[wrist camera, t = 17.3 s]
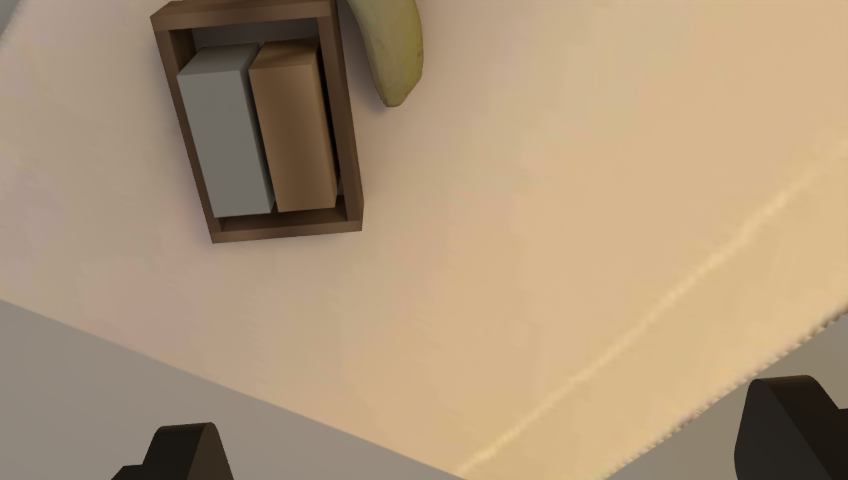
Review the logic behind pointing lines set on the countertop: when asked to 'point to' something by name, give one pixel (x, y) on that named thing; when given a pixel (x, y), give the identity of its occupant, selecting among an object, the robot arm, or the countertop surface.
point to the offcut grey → (227, 129)
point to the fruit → (391, 45)
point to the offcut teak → (296, 123)
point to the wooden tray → (249, 3)
